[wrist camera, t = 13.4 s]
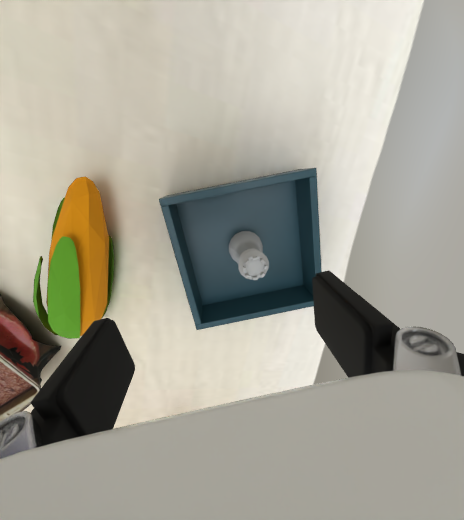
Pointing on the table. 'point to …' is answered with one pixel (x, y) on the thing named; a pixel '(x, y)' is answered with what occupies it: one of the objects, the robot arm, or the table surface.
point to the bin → (254, 220)
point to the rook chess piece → (249, 255)
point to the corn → (77, 264)
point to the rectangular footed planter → (19, 363)
